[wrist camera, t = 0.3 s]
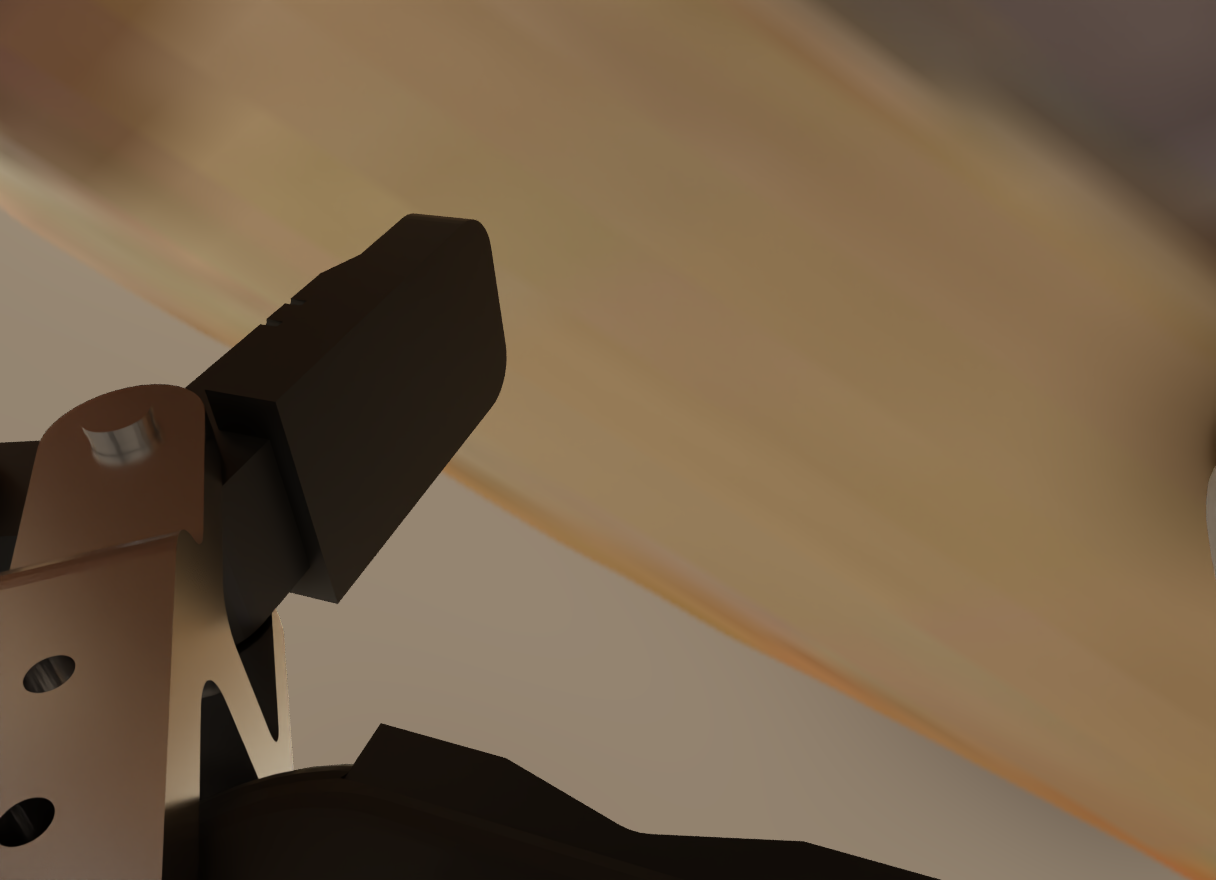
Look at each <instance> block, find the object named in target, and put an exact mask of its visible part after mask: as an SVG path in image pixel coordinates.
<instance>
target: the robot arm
mask: <svg viewBox="0 0 1216 880" xmlns="http://www.w3.org/2000/svg"><path fill="white" fill-rule="evenodd" d="M505 370H506V344H505V337H504V330H503V324H502V317H501V310H500V304H499V297H498V291H497V284H496V277H495V271H494V264H493V257H492V251H491V245H490V240H489V237H488V234H487V232H486V230H485V228H484V226H483V225H482V224H481V223H480V222H479V221H477V220H473V219H463V218H453V217H443V216H433V215H424V214H409V215H406V216H405V217H403V218H402V219H401V220H400V221H399V222H397V223H396V224H395V225H394V226H393V227H392V228H391V229H389V230H388V231H387V232H386V233H385V234H384V235H382V236H381V237H380V238H379V239H378V240H377V241H375V242H374V243H373V244H372V245H371V246H370V247H369V248H367V249H366V250H365V251H364V252H363V253H362V254H360V255H358V256H356V257H354V258H352V259H350V260H348V261H346V262H344V263H341V264H339V265H337V266H335V267H333V268H331V269H329V270H327V271H325V272H322V273H320V274H319V275H318V276H317V277H316V278H315V279H313V280H312V281H311V282H310V283H309V284H307V285H306V286H305V287H304V288H303V289H302V290H300V291H299V292H298V293H297V294H296V295H294V296H293V297H292V298H291V304H284V305H283V306H281V307H280V308H279V309H278V310H277V311H276V312H274V313H273V314H272V315H271V316H270V317H268V318H267V323H266V325H261V324H260V325H259V326H258V327H257V328H255V329H254V330H253V331H252V332H251V333H250V334H248V335H247V336H246V337H245V338H244V339H242V340H241V341H240V342H239V343H238V344H237V345H235V346H234V347H233V348H232V349H231V350H229V351H228V352H227V353H226V354H225V355H224V356H222V357H221V358H220V359H219V360H218V361H216V362H215V363H214V364H213V365H212V366H210V367H209V368H208V369H207V370H206V371H205V372H203V373H202V374H201V375H200V376H199V377H197V378H196V379H195V380H194V381H193V382H192V383H190V384H189V385H188V386H187V387H186V388H182V387H179V386H173V385H165V384H151V385H139V386H133V387H127V388H123V389H120V390H115V391H112V392H109V393H106V394H103V395H100V396H98V397H95V398H93V399H91V400H88V401H86V402H84V403H83V404H80V405H78V406H77V407H75V408H73V409H72V410H70V411H69V412H67V413H65V414H64V415H63V416H61V417H60V418H59V419H58V420H57V421H55V422H54V423H53V424H52V425H51V426H50V427H49V428H48V430H47V431H46V432H45V434H44V435H43V437H42V438H41V440H40V441H25V442H5V443H0V880H940V879H936V878H932V877H929V876H925V875H922V874H918V873H914V872H911V871H907V870H904V869H900V868H897V867H893V866H889V865H886V864H882V863H878V862H875V861H872V860H868V859H864V858H861V857H857V856H854V855H850V854H846V853H843V852H840V851H836V850H832V849H829V848H825V847H822V846H818V845H814V844H811V843H807V842H804V841H783V840H762V839H741V838H720V837H699V836H678V835H657V834H645V833H639V832H636V831H632V830H629V829H627V828H625V827H623V826H620V825H619V824H617V823H615V822H613V821H612V820H610V819H608V818H607V817H605V816H603V815H602V814H600V813H598V812H596V811H595V810H593V809H591V808H590V807H588V806H586V805H584V804H583V803H581V802H579V801H578V800H576V799H574V798H572V797H571V796H569V795H568V794H566V793H564V792H563V791H561V790H559V789H557V788H556V787H554V786H552V785H551V784H549V783H547V782H546V781H544V780H542V779H540V778H539V777H537V776H535V775H534V774H532V773H530V772H529V771H527V770H525V769H523V768H522V767H520V766H518V765H517V764H515V763H513V762H511V761H510V760H508V759H506V758H503V757H500V756H496V755H492V754H489V753H485V752H482V751H478V750H475V749H471V748H468V747H464V746H460V745H457V744H453V743H450V742H446V741H442V740H439V739H435V738H432V737H428V736H425V735H421V734H417V733H414V732H410V731H407V730H403V729H399V728H396V727H392V726H389V725H385V724H382V723H381V724H380V725H379V727H378V728H377V730H376V731H375V733H374V734H373V736H372V738H371V739H370V740H369V742H368V743H367V745H366V746H365V748H364V750H363V751H362V752H361V754H360V755H359V757H358V758H357V760H356V762H355V763H354V764H341V765H329V766H316V767H309V768H304V769H298V770H294V768H293V755H292V740H291V727H290V712H289V698H288V684H287V670H286V656H285V642H284V631H283V626H282V623H281V620H280V617H279V614H278V611H277V609H276V607H277V606H278V605H279V604H280V603H281V602H282V600H283V599H284V598H285V597H286V596H287V594H288V593H289V592H290V593H295V594H299V595H303V596H307V597H311V598H315V599H320V600H324V601H328V602H332V603H336V604H338V603H339V602H340V600H341V599H342V598H343V596H344V595H345V594H346V593H347V591H348V590H349V589H350V587H351V586H352V585H353V584H354V582H355V581H356V580H357V579H358V577H359V576H360V575H361V573H362V572H363V571H364V569H365V568H366V567H367V565H368V564H369V563H370V562H371V561H372V559H373V558H374V557H375V556H376V554H377V553H378V552H379V550H380V549H381V548H382V547H383V545H384V544H385V543H386V541H387V540H388V539H389V538H390V536H391V535H392V534H393V532H394V531H395V530H396V529H397V527H398V526H399V525H400V524H401V522H402V521H403V519H404V518H405V517H406V516H407V515H408V513H409V512H410V511H411V510H412V508H413V507H414V506H415V504H416V503H417V502H418V501H419V499H420V498H421V497H422V495H423V494H424V493H425V492H426V490H427V489H428V488H429V486H430V485H431V484H432V483H433V481H434V480H435V479H436V478H437V476H438V475H439V474H440V472H441V471H442V470H443V469H444V467H445V466H446V465H447V464H448V462H449V461H450V460H451V458H452V457H453V456H454V455H455V453H456V452H457V451H458V449H459V448H460V447H461V446H462V444H463V443H464V442H465V441H466V439H467V438H468V437H469V435H470V434H471V433H472V432H473V430H474V429H475V428H476V426H477V425H478V424H479V423H480V421H481V420H482V419H483V417H484V416H485V415H486V414H487V412H488V411H489V410H490V409H491V407H492V406H493V404H494V403H495V402H496V400H497V398H498V396H499V393H500V391H501V388H502V385H503V381H504V376H505Z"/></svg>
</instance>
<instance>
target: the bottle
mask: <svg viewBox="0 0 1216 880" xmlns="http://www.w3.org/2000/svg"><path fill="white" fill-rule="evenodd" d="M1206 521H1207V528H1208V536H1209V543H1210V550H1211V557H1212V563H1213V568H1214V573H1215V578H1216V466H1215V467H1214V469H1213V471H1212V474H1211V476H1210V479H1209V482H1208V488H1207V498H1206Z"/></svg>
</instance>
